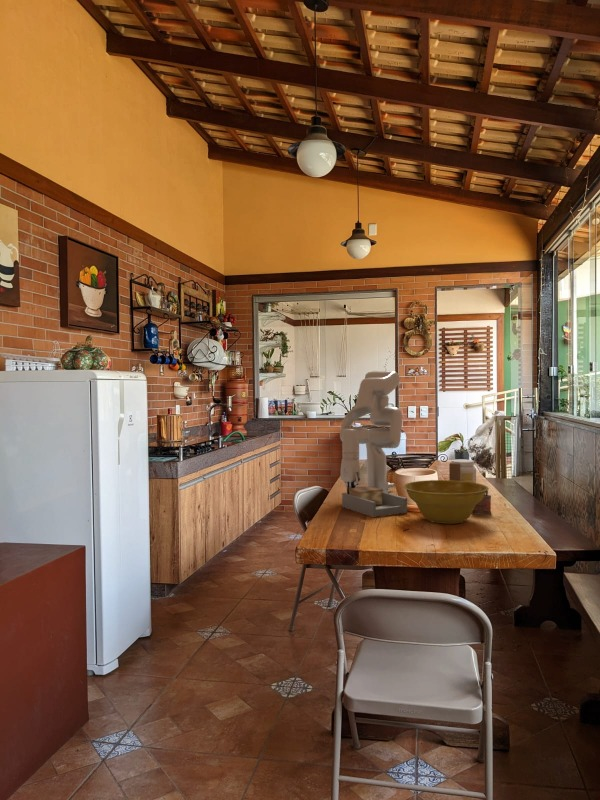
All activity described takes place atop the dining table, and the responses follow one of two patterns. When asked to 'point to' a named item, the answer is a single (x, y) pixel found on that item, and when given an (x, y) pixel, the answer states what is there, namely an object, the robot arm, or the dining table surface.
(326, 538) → the dining table surface
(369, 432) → the robot arm
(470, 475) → the supplement tub
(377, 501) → the crate
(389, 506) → the bay
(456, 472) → the wooden block
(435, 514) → the planter bowl
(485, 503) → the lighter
